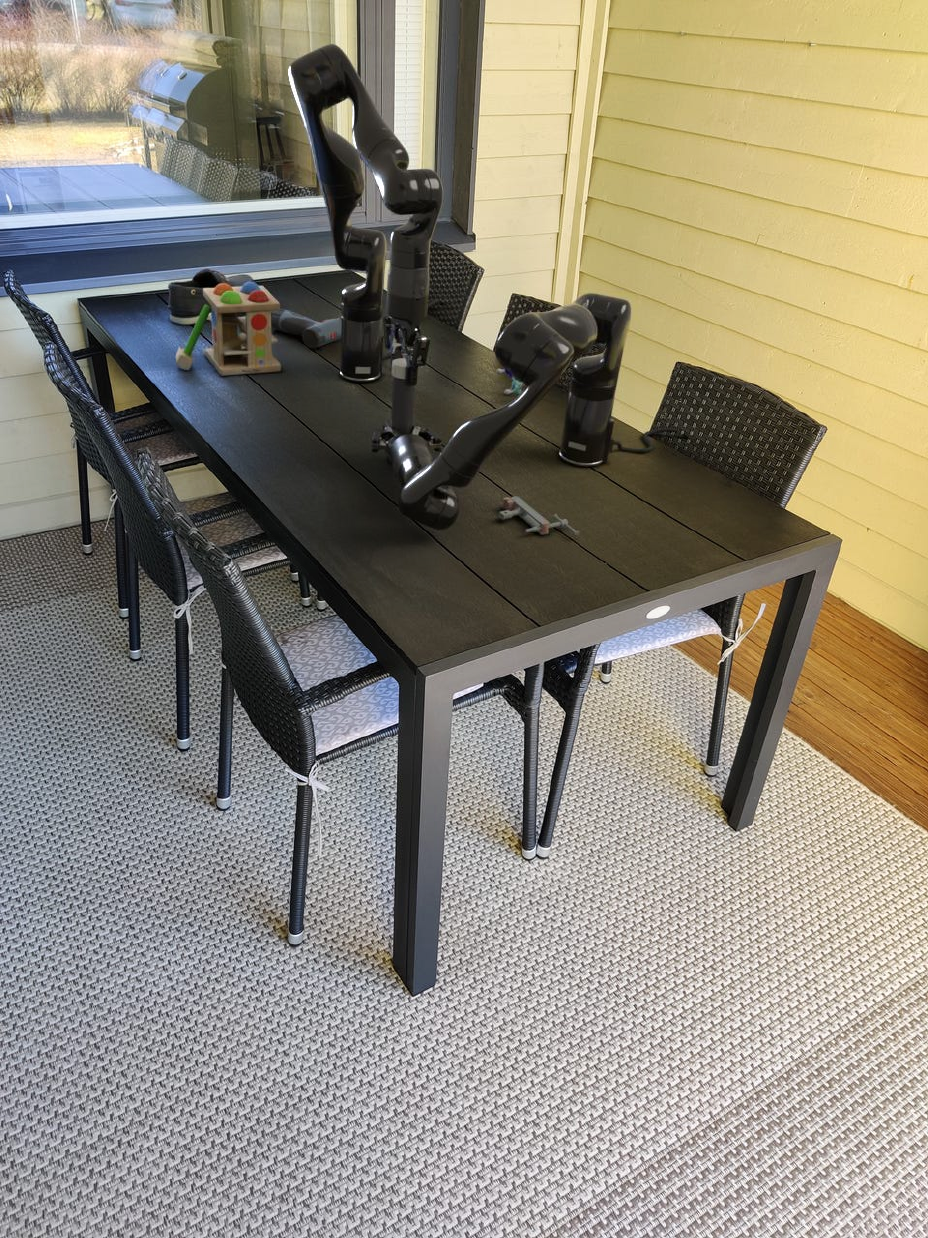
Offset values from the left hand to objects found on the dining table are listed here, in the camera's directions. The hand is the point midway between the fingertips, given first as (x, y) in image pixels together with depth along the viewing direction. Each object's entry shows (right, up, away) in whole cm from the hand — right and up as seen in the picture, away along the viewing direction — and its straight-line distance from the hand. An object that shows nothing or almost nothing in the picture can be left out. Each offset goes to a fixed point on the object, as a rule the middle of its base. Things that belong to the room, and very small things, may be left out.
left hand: (403, 379), depth 186 cm
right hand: (-1, -7, +8) cm, 11 cm away
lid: (0, +2, -2) cm, 3 cm away
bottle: (-1, -14, +10) cm, 17 cm away
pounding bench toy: (-45, +14, +44) cm, 64 cm away
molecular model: (+24, +6, +43) cm, 50 cm away
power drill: (-28, +28, +67) cm, 78 cm away
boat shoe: (-55, +38, +78) cm, 103 cm away
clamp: (+24, -29, -8) cm, 38 cm away
